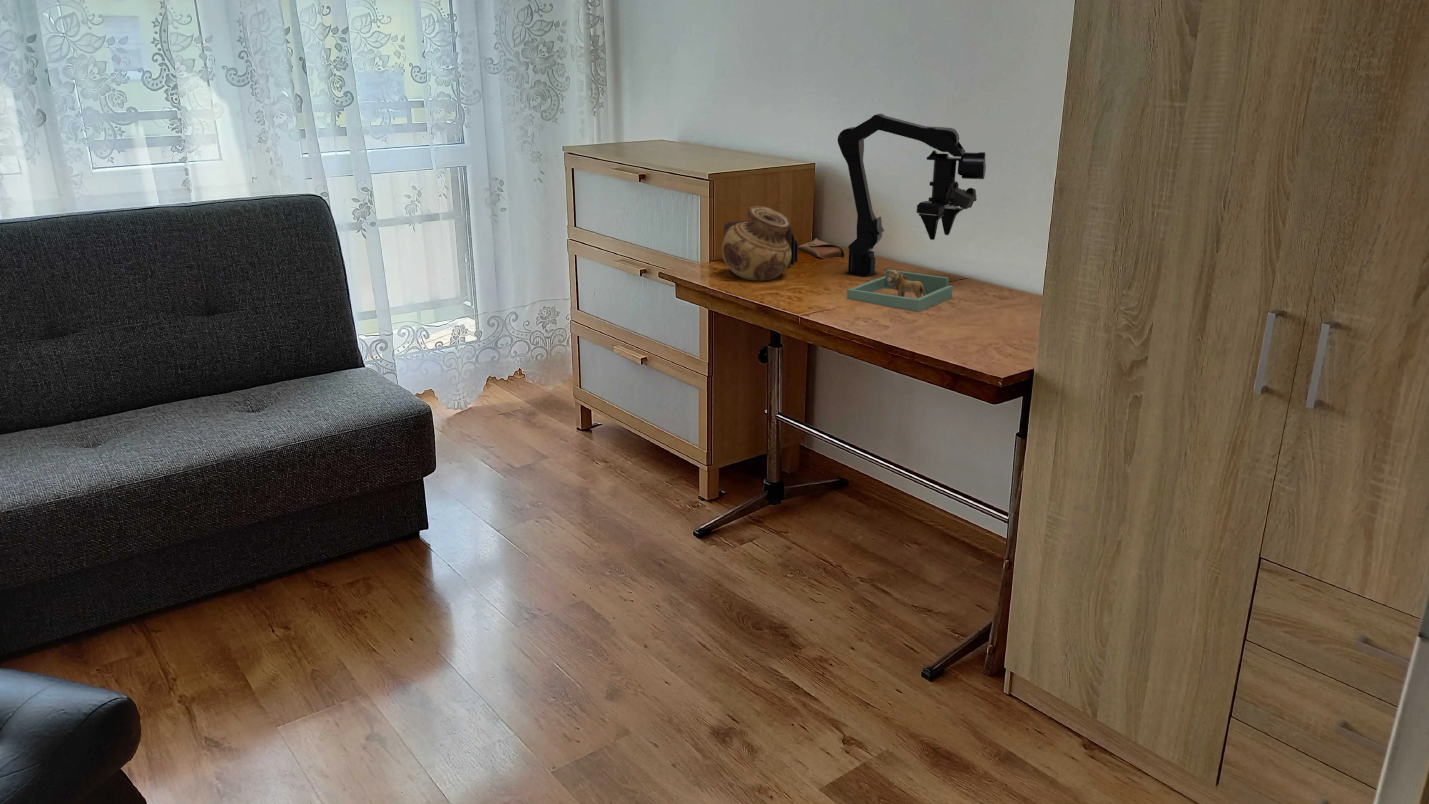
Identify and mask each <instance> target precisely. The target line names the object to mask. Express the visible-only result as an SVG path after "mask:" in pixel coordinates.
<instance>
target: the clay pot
mask: <svg viewBox="0 0 1429 804" xmlns="http://www.w3.org/2000/svg"><path fill="white" fill-rule="evenodd" d="M746 216H747V220H748V221H751V222H740V223H737V224H735V225H733V226H732V227H730V228H729V229H728V231H727V232H726V233H725V235H724V234H723V239H722V243H721V253H722V254H721V255H722V259H724V261H725V262H724V264H726V266H727V267H728V269H729V270H730V271H731V272H732V273H733V274H735V275H736V276H737V277H740V278H741V279H743V280H747V281H771V280H775V279H777V278H778V277H779V276H781V274H783V272H784V271H785V270H786V269H787V268H786V267H787V266H788V264H789V262H790V260H791V255H792V253H791V248H790V246H789V244H788V242H787V241H786V239H785V234H786V232H787V231H788V229H789V227H791V224H792V221H791V219H790V218H789V217H787V216H786V215H784V214H783V213H782V212H779V211H777V210H775V209H772V208H771V207H768V206H762V205H761V206H760V205H751V206H750V207H748V210H747V215H746Z"/></svg>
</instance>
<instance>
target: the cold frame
mask: <svg viewBox="0 0 1429 804" xmlns="http://www.w3.org/2000/svg"><path fill="white" fill-rule="evenodd" d="M893 270H894V269H885V276H881V277H878V278H876V279H872V280H869V281H868V282H864V283H862V284H859V285H856V286H854V287H851V288H848V289H847V290H846V291H847V293H846V299H847V300H852V301H857V302H863V303H867V304H869V303H870V304H873V303H874V305H878V306H885V307H889V308H895V309H901V310H907V311H911V312H917V313H919V312H921V311H924V310H926V309H928V308H931V307H933V306H935V305H938V304H941V303H943V302H944V301H948V300H949V299H952V298H953V291H954V289H953V286H954V285H950V284H949V282H950V277H947V276H940V275H939V276H938V275H933V274H931V275H930V274H926V273H925V274H924V273H916V272H910V271H902V270H897V271H898V272H901V273H902V274H903V275H905V276H906V277H907V279H908V280H909V281H919V282H921V283H922V284H923V288H924V292H925V296H923V292H922V294H921V297H920V298H913V297H906V296H904V297H901V296H898V295H893V294H889V293H888V294H887V293H879V292H876V291H879V290H881V289H884V288H887V289H892V290H893V289H894V287H893V286H891V285H890V284H888V281H887V278H888V277H889V272H891V271H893ZM894 290H895V289H894Z"/></svg>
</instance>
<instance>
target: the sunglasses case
mask: <svg viewBox="0 0 1429 804" xmlns="http://www.w3.org/2000/svg"><path fill="white" fill-rule="evenodd" d="M798 251H801V252H803V253H806V254H807V255H810V256H813V257H816V258H820V259H823V260H825V259H824V258H829V259H834V258H833V257H844V258H845V252H844V250H843V249H842V248H841V247H840V246H839V245H836V244H830V243H829V242H826V241H823V240H820V239H818V238H817V237H815V239H814V240H811V241H809V242H806V243H803V244H800V245H798Z"/></svg>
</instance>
